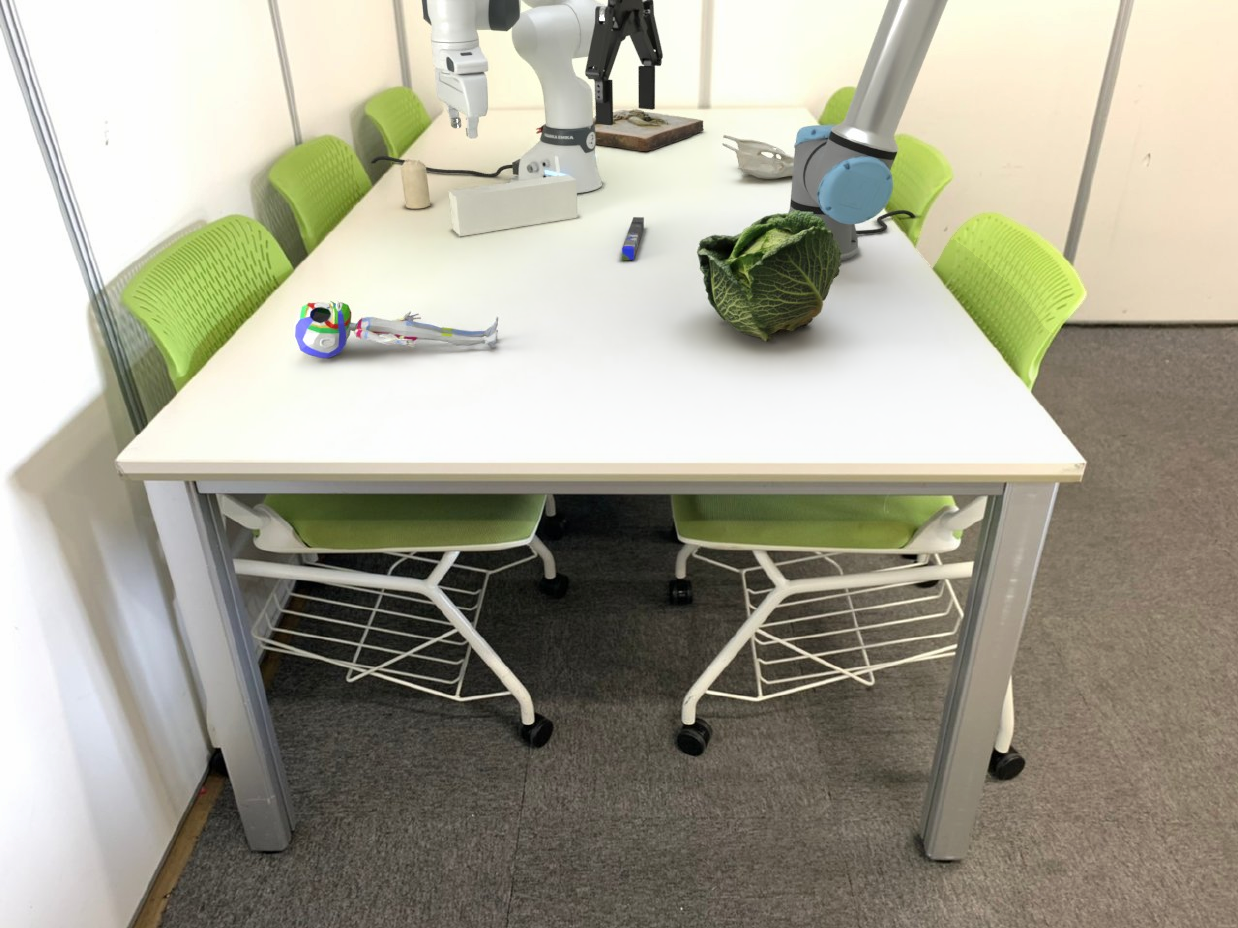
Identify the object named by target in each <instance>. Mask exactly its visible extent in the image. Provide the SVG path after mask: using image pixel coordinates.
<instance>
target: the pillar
mask: <svg viewBox="0 0 1238 928" xmlns="http://www.w3.org/2000/svg"><path fill="white" fill-rule="evenodd" d="M644 229H645V217H644V216H643V217H642V216H633V217H632V219H631V223H630V225H629V228H628V232H627V233H626V237H625V238H624V242H623V245H622V247H621V260H622V261H634V260H635V257H636V254H637V251H638V247H639V244H640V241H641V238H642V235H643V233H644Z"/></svg>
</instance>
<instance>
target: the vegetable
mask: <svg viewBox="0 0 1238 928" xmlns="http://www.w3.org/2000/svg"><path fill="white" fill-rule="evenodd" d="M698 245H699V246H698V248H697V251H696V253H697V258H698V262H699V270H700V272H701V273H702V274H703V278H702V279H703V284H704V287H705V292H706V293H707V300H708V302H709V304H710V306H711V307H712V308H713V309H714V310H715V312H716V313H717V315H718V316H719V317H720V319H721V320H723V322H727V323H728V324H729V325H730V326H731V328H733V329H734V330H736V331H737V332H739V333H740V334H741V333H742V334H743V335H747V336H750V337H757V338H760V339H762V340H763V342H768V340H769V339H772V340H773V339H774V337H773V336H772V335H773V334H775V333H776V332H778V331H779V330H786V331H790V332H793V331H794V330H795V329H796V328H798V327H808V324H810V323H812V322H813V320H814V318H815V317H817V316H818V315H820V313H822V312H821V311H822V309H823V306H824V301H825V300H826V298H827V297H828V295H829V292H830V289H831V285H832V284H833V282H834V280H835V278H837V277H838V276H839V275H840V267H841V266H842V264H841V261H840V256H841V254H842V253H841V251H840V249H839V245H838V243H837V242H836V241H835V239H834V235H833V234H832V232H831V230H830V231H827V229H826V226H825V222H824V221H823V219H822V218H819V217H817V216H815V215H814V213H813V212H801V211H799V210H798V211H797V210H793V211H792V212H790V213H788V212H785V213H774V214H769V215H766V216H764V217H762V218H759V219H758V220H756V221H754V222H753V223H751V224H750V226H747V227H746V228H744V229H743V230H742V231H741V233H737V234H736V235H725V234H722V235H719V234H712V235H710V236H707V237H704V238H703V239H701V240H700V241H699V243H698Z"/></svg>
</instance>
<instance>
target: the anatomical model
mask: <svg viewBox="0 0 1238 928" xmlns="http://www.w3.org/2000/svg"><path fill="white" fill-rule="evenodd" d="M722 138H723V139H727V140H730V141H733V142H735V143H736V144H737V148H735V147H733V146H731V145H729V144H728V143H725V142H722V143H721V144H722V145H721V146H723V147H725V148H726V149H729V150H731V151H733V152H734V153H735V154H736V159H737V163H738V167H737V169H738V170H741V171H742V173H744V174H745V175H750V176H751V175H752V176H754V177H755V178H757V179H766V180H769V179H779V178H784V177H785V178H786V177H793V166H794V156H793V155H789V154H787V153H786V152H785V151H783V149H781V148H779V147H777V146H775V145H772V144H770V143H766V142H764V141H759V140H754V139H744V138H738V137H734V136H730V135H726V134H723V136H722ZM762 153H770V154H772V155H773V156H772V157H768V156H766V155H764V154H762ZM777 155H778V156H779V157H780V158H778V157H777Z"/></svg>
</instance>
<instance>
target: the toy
mask: <svg viewBox="0 0 1238 928" xmlns="http://www.w3.org/2000/svg"><path fill="white" fill-rule="evenodd" d="M411 313H412V311H411V310H410V311H409V312H408V313H406V314H405V315H404V316H403V317H402V318H396V319H391V320H389V319H384V318H380V317H379V318H377V317H374V316H365V317H361V318H360V319H358V321H357V322H352V311H351V308H350V306H349V304H347V303H344V302H342V301H337V302H336V303H335V302H333V301H332V300H330V303H329V302H308V303H306V304H305V305H302V307H301V308H300V311H299V313H298V315H297V318H296V320H295V321H294V325H293V337H294V340H295V342H296V344H297V346H298V348H299V350H300V351H301V352H303V353H305V354H306V355H308V356H312V357H316V358H322V359H329V358H332V357H334V356H337V355H340V354H341V353H342V351H343V350H344V348H345V347H346V346H347V343H348V339H349V337H350V335H351V331H352V332H353V333H354V336H355V337H356V338H358V339H359V340H369V341H371V342H376V343H379V344H382V345H404V346H409V347H412V348H414V346H416V343H414V342H415V341H417V340H424V341H434V342H435V341H437V342H443V343H448V344H451V345H455V346H476V345H482V344H485V345H486V346H489V347H491V348H494V347H495V345H496V343H497V341H498V333H499V330H498V329H497V328H498V326H499V325H498V322H499V317H498V316H496V317H495V321H494V323H493V324H492V325H491V326H490V327H489V328H487V329H486V330H465V329H458V328H453V327H439V326H437V325H433V324H430V323H424V322H418V321H415V320H421V319H422V317H419V315H420V313H416V314H412V315H411ZM416 316H418V317H416ZM381 335H392V336H394V337H391V336H381Z"/></svg>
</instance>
